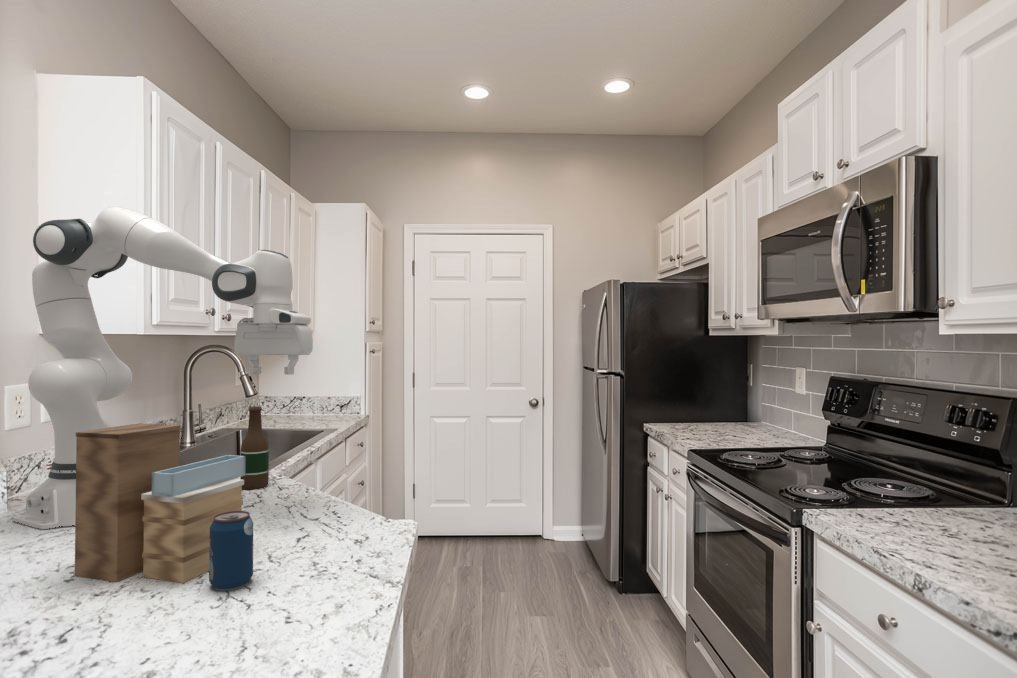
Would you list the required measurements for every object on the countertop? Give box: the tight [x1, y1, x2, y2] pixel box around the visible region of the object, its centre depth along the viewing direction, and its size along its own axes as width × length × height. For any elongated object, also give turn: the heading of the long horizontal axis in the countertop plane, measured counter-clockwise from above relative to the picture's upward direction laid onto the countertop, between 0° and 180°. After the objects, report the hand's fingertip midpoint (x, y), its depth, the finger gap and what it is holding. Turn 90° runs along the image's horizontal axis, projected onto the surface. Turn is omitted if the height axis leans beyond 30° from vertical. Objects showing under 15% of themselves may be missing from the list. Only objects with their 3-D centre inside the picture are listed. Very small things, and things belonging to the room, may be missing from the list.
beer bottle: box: [240, 405, 270, 491], centre depth 171 cm, size 8×8×24 cm
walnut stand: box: [74, 422, 182, 583], centre depth 109 cm, size 10×13×26 cm
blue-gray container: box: [152, 454, 245, 497], centre depth 110 cm, size 4×18×4 cm, turn 164°
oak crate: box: [141, 478, 244, 584], centre depth 109 cm, size 10×15×15 cm, turn 164°
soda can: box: [208, 510, 254, 592], centre depth 100 cm, size 7×7×12 cm
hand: (272, 374), depth 139 cm, fingers open, 8 cm apart
